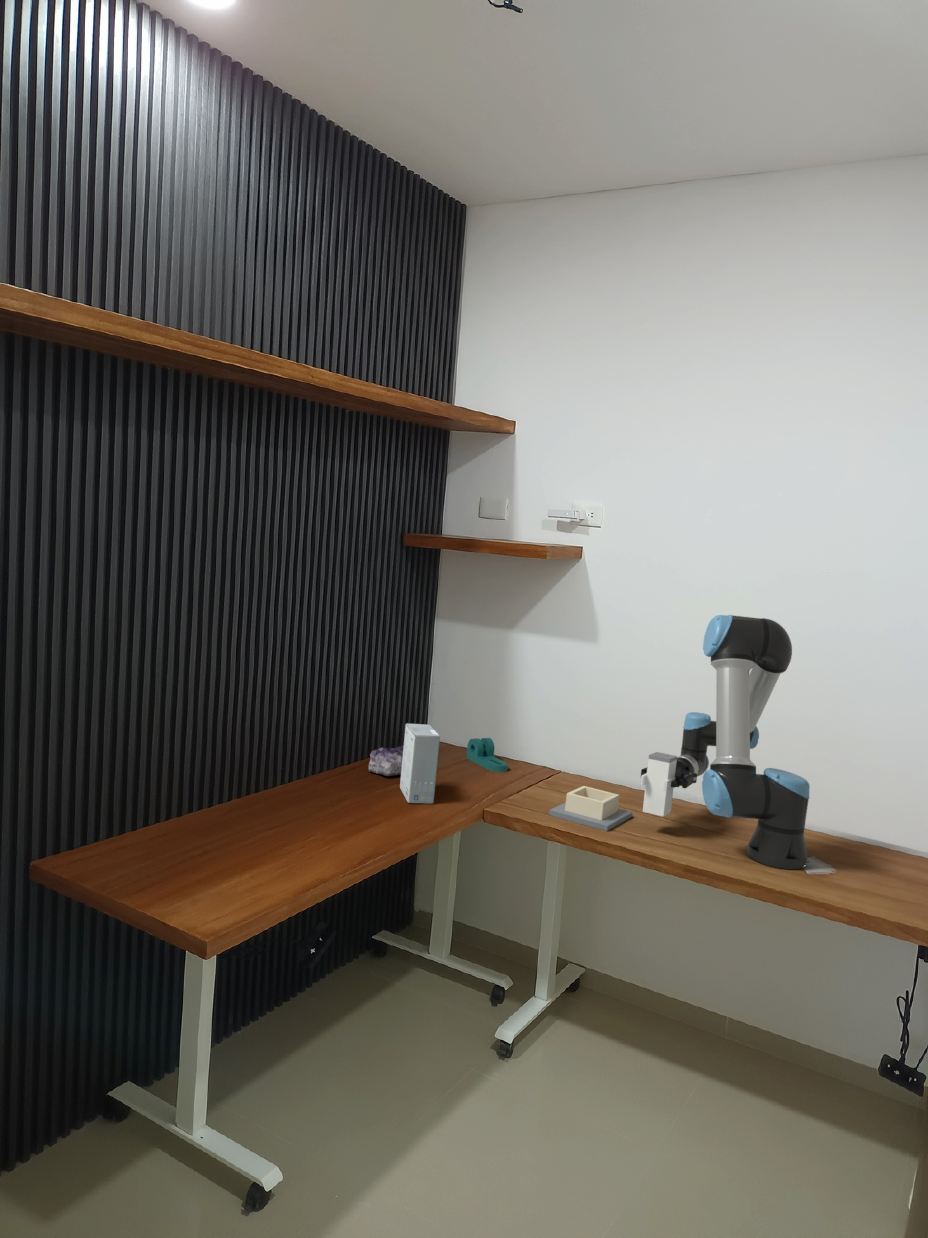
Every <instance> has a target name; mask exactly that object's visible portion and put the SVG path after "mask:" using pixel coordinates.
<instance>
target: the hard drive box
mask: <svg viewBox="0 0 928 1238" xmlns="http://www.w3.org/2000/svg"><path fill="white" fill-rule="evenodd" d="M403 738H404V739H403V740H404V741H403V745H404V748H403V759H402V770H401V775H400V780H399V781H400V782H399V783H400V784H399V788H400V790H401V793H402V794H403V796H404V798H405V800H406V802H407V803H408V804H431V805H432V804H434V801H435V790H436V781H437V773H438V772H437V771H438V770H437V769H438V761H439V752H440V751H439V750H440V749H439V748H440V740H441V739H440V738H441V736H440V735H439V733H438V732H437V731H436V730H435V729H434V728H433V727H432V726H431V725H430V724H423V723H422V724H421V723H405V728H404V737H403Z"/></svg>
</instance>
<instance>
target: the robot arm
mask: <svg viewBox="0 0 928 1238" xmlns="http://www.w3.org/2000/svg"><path fill="white" fill-rule="evenodd" d="M705 629H706V630H705V634H704V637H703V643H702V651H703V654H704V656H706V657H708V658H710V665H711V666H712V667H713V668H714V669H715V671H716V674H715V675H716V679H715V681H716V684H715V685H716V686H715V687H716V694H715V695H716V697H715V698H716V701H715V702H716V703H715V704H716V706H715V707H716V709H715V710H716V711H715V712H716V714H715V715H716V716H715V717H716V720H715V721H714V720H712V719H711V715H709V714H708V713H704V712H697V711H695V712H694V711H692V712H691V711H690V712H688V713H686V714H685V717H684V723H683V727H682V728H683V730H682V741H681V749H680V756H677V762H676V771H675V777H672V778H670V779H668V780H666V781H665V783H664V791H668V790H670V789H672V788H673V787H674V788H673V789H675V788H680V787H682V789H688V788H689V787H690V786H691V785H692V784H696V783H697V780H698V777H699V776H701V775H702V781H701V789H702V797H703V801H704V804H705V806H706V808H707V810H708V811H709V812H710V813H711V814H712V815H715V816H718V817H719V816H720V817H726V818H739V819H740V818H741V819H751V820H757V825H756V827H755V830H754V832H753V834H752V836H751V838H750V839H749V841H748V844H747V846H746V847H747V848H746V855H747V856H748V857H749V858H750V859H752V860H754V861H755V862H758V863H760V864H762V865H765V866H768V867H773V868H779V869H784V870H800V869H803V868H802V867H803V866H804V865H806V863H807V864H808V851H807V847H806V845H807V844H806V841H805V837H804V836H805V835H804V834H805V827H806V819H807V813H808V806H809V800H810V783H809V781H808V780H807V779H806V778H804V777H802V776H800V775H799V774H796V773H793V772H790V771H787V770H783V769H779V768H774V767H766V768H765V769H764V771H763V774H761V773H757V766H756V764H755V763H754V762H753V761H752V760H751V750H753V749H755V748H756V747H757V745H758V743H759V739H760V731H759V728H758V727H757V724H758V723H759V720H760V718H761V716H762V715H763V711H764V710H765V708H766V705H767V703H768V701H769V700H770V697H771V694H772V693H773V690H774V689H775V687H776V684H777V682H778V680H779V678H780V676H781V675H782V674H784V673H785V672H786V671H787V669H788V668H789V665H790V664H791V661H792V655H793V646H792V642H791V641H792V640H791V638H790V636H789V634H788V632H787V630H786V629H785V628H784V627H783V626H782V625H781V624H780V623H778V622H776V621H775V620H773V619H769V618H765V617H764V618H763V617H762V618H760V617H750V616H741V615H732V614H728V615H723V614H717V615H715V616H713V617H712V618H711V619H710V621H709V622H708V624H707V627H706V628H705ZM708 747H716V748H715V751H716V752H715V754H716V755H715V759H714V760H712V762H711V763H710V761H709V757H708V755H707V753H708ZM709 767H710V768H709ZM647 768H648V766H647V767H643V768H642V769H641V770H640V787H641V786H642V787H644V786H645V785H646V777H647ZM708 768H709V769H708Z"/></svg>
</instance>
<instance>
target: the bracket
mask: <svg viewBox="0 0 928 1238" xmlns="http://www.w3.org/2000/svg"><path fill="white" fill-rule="evenodd" d="M466 759H467V760H468V761H471V762H473V763H475V764H477V765H479V766H481V767H483V768H485V769H487V770H488V771H492V772H495V773H506V772H508V770H509V764H508V762H506V761H503V760H502V759H499V758H497V757H495V743H494V741H493V739H492V738H491V737H482V738H470V739H469V740H468V743H467V748H466Z"/></svg>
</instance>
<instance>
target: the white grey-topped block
mask: <svg viewBox="0 0 928 1238" xmlns="http://www.w3.org/2000/svg"><path fill="white" fill-rule="evenodd" d="M677 757H678V756H677V755H674V754H669V753H665V752H658V751H655V752H653V753H651V754H648V760H647V767H648V768H647V767H646V768H647V777H646V785H644V786H645V787H644V796H643V802H642V803H643V805H642V812H643V813H647V814H650V815H654V816H658V817H665V816H668V815H669V814H670V813H672V803H673V796H674V795H673V794H674V789H675V788H674V787H673V788H672V789H670V790H668V791H664V783H665V781H666V780H668V779H670V778H672V777H675V771H676V762H677Z"/></svg>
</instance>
